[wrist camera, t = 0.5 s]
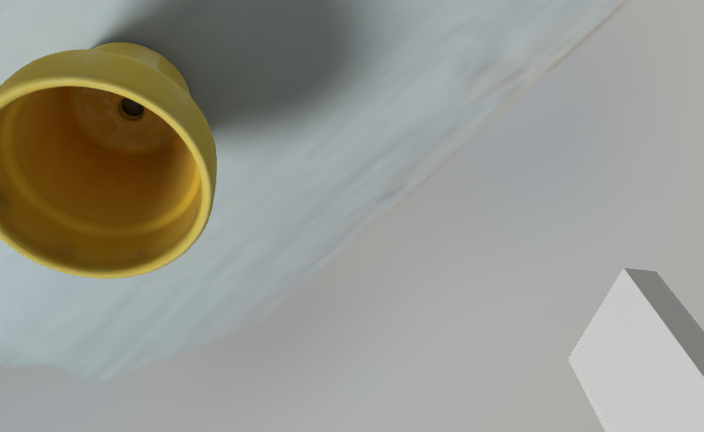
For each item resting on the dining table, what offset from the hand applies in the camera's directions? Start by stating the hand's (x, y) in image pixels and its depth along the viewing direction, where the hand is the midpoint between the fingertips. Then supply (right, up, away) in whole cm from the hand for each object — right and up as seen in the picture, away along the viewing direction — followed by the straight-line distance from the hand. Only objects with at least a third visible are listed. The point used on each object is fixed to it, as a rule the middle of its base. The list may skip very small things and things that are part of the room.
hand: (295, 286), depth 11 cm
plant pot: (-11, +8, +22) cm, 26 cm away
